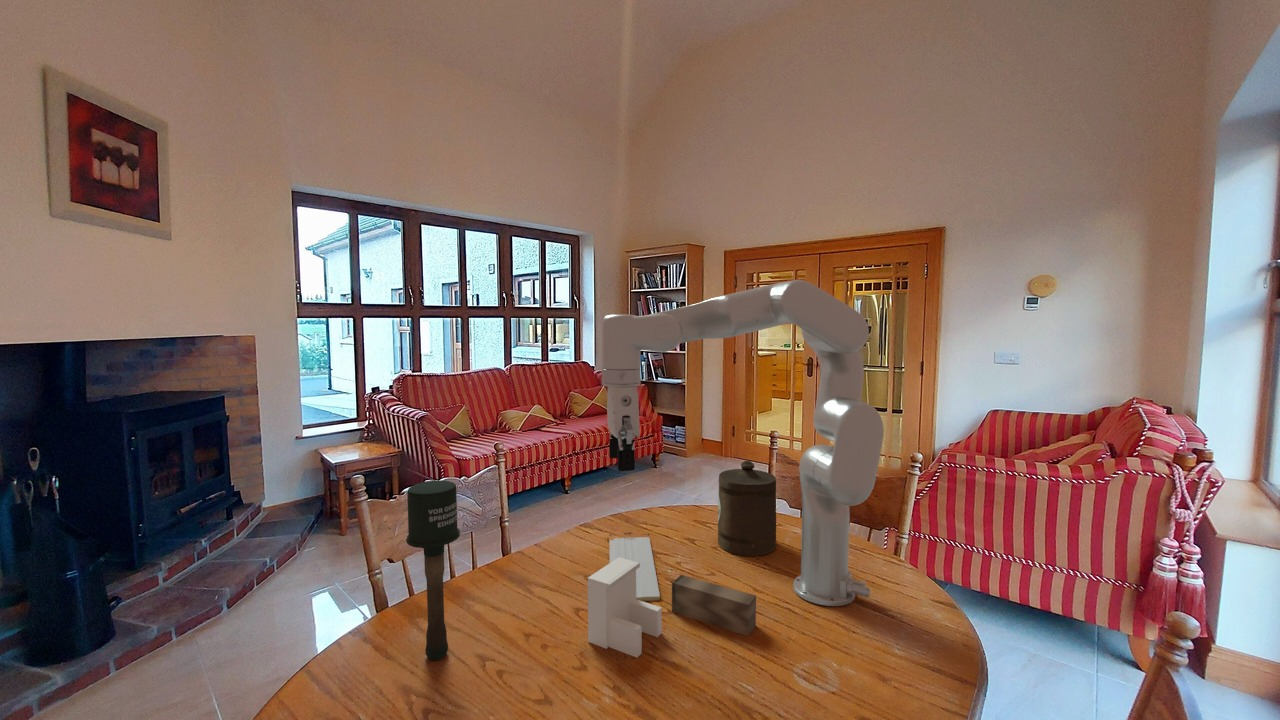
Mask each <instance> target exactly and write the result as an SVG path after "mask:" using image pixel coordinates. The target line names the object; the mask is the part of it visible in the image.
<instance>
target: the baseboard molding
mask: <svg viewBox="0 0 1280 720" xmlns="http://www.w3.org/2000/svg"><path fill="white" fill-rule="evenodd" d="M623 535H632V532H624V534H623ZM641 535H642V536H643V535H646V536H643V537H640V536H641ZM647 535H648V536H647ZM649 535H650V533H648V534H646V533H645V534H643V533H642V534H640V536H639V537H638V536H637V537H615V538H613V539H609V537H606V538H604V539H605V540H606V541H607V542H609V563H611V562H612V561H614V560H615V559H617V558H618V557H620V558H624V559H627V560H631V561H635V562H638V563H640V567H639V568H638V569H636V600H640V601H643V602H646V601H647V602H649V601H652V602H653V601H660V600H661V593H660V589H659V584H658V583H659V582H658V578H657V573H656V566H655V561H654V555H653V551H652V550H653V549H652V544H651V539H650V537H649ZM609 536H610V537H612V534H609Z"/></svg>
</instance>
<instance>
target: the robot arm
mask: <svg viewBox="0 0 1280 720" xmlns="http://www.w3.org/2000/svg"><path fill="white" fill-rule="evenodd" d="M783 325H784V326H785V325H796V326H797V327H799V328H800V329H801V336H802V339H803V340H804V343H806V345H807V346H809V348H810V349H812V351H813V352H814V354H815V355H816V357H817V359H818V362H819V366H820V377H819V386H818V391H817V398H816V402H815V407H814V413H813V426H814V429H815V431H816V432H817V434H819V436H822V437H823V438H825V439H827V440H829V441H830V442H833V443H834V444H833V446H831V445H828V444H816V445H813V446H810V447H809V448H807V449H806V450H805V451H804V452H803V454H802V456H801V458H800V460H799V466H798V467H799V468H798V474H799V481H800V482H799V483H800V490H801V501H802V502H801V505H802V506H801V507H802V509H801V510H802V511H801V546H800V547H801V551H800V575H798V576H796V577H795V578H794V580H793V584H792V586H793V587H792V588H793V591H794V592H795V594H796V595H798V596H799V597H801V598H802V599H803V600H805V601H807V602H809V603H812V604H816V605H819V606H820V605H821V606H827V607H840V606H846V605H849V604H850V603H852V602H854V600H855V598H856V595H858V596H861V597H865V598H870V594H871V588H870V587H868V586H867V585H866V582H864V581H860V580H855V579H854V578H852V571H851V570H850V571H849V549H850V548H849V546H850V545H849V544H850V517H851V516H850V507H852V506H857V505H860V504H862V503H864V502H866V500H867V499H868V498H869V497H870V495H871V494H872V491H873V489H874V487H875V484H876V480H877V475H878V470H879V464H880V459H881V454H882V453H881V452H882V447H883V441H884V434H885V433H884V423H883V419H882V417H881V415H880V413H879V412H878V410H877V409H876V408H875V407H874V406H873V405H871V404H869V403H867V402H864V401H862V394H863V387H864V379H865V370H864V362H863V359H862V355H861V354H860V351H859V350H861V349H862V348H863V347H864V346H865V345H866V343H867V342H868V338H869V333H870V332H869V331H870V329H869V325H868V323H867V320H866V318H864V316H863V315H862V314H861V313H860V312H858V311H857V310H856V309H855V308H853V307H851V306H850V305H848V304H846V303H844V302H843V301H841V300H839V299H838V298H836V297H835V296H833V295H832V294H830V293H828V292H826V291H825V290H823V289H822V288H820V287H818V286H817V285H814V284H813V283H811V282H808V281H806V280H802V279H793V280H788V281H782V282H776V283H772V284H768V285H764V286H759V287H754V288H751V289H746V290H741V291H736V292H732V293H728V294H724V295H721V296H720V295H719V296H716V297H713V298H710V299H707V300H704V301H700V302H698V303H694V304H690V305H689V304H688V305H686V306H685V305H684V306H680V307H676V308H672V309H668V310H663V311H660V312H654V313H650V314H648V315H647V314H645V315H635V314H623V313H622V314H621V313H620V314H608V315H605V316H604V317H603V319H602V322H601V386H604V387H607V392H606V394H607V401H606V405H607V406H606V411H607V412H606V413H607V415H606V416H607V417H606V418H607V419H606V420H607V429H608V431H609V438H608V439H609V440H608V452H609V454H608V455H609V459H617V470H618V472H628V471H631V472H632V471H635V468H636V467H635V466H636V463H635V459H636V452H635V451H636V449H635V439H634V437H635V438H638V437H640V434H641V430H640V429H641V428H640V408H639V407H640V406H639V395H638V387H639V386H641V381H642V380H641V374H642V371H641V364H642V363H641V358H642V357H641V351H648V352H655V353H667V352H670V351H673V350H674V349H676V348H677V347H678V346H679V345H680V344H684V343H687V342H688V343H689V342H694V341H699V340H706V339H707V340H709V339H710V340H711V339H712V340H713V339H714V340H715V339H717V340H718V339H729V338H734V337H738V336H742V335H746V334H749V333H754V332H758V331H763V330H766V329H771V328H774V327H778V326H783Z"/></svg>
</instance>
